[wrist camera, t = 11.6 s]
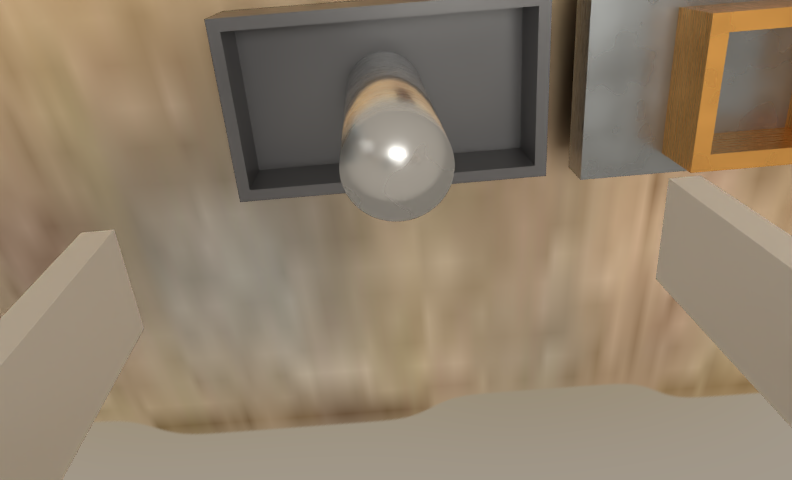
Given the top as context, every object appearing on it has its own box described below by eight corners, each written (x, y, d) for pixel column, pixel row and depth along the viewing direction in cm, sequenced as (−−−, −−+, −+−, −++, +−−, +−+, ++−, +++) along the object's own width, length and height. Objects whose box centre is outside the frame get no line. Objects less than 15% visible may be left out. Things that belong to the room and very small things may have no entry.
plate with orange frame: (552, 150, 36) (601, 201, 28) (559, -17, 32) (617, -7, 25) (806, 128, 36) (918, 174, 29) (844, -40, 32) (984, -37, 25)
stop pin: (350, 129, 34) (345, 226, 22) (342, 54, 32) (332, 116, 20) (423, 123, 34) (456, 216, 22) (419, 48, 32) (452, 105, 20)
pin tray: (252, 176, 35) (240, 201, 32) (222, 11, 32) (204, 19, 28) (527, 152, 36) (545, 175, 32) (530, -14, 32) (552, -10, 28)
